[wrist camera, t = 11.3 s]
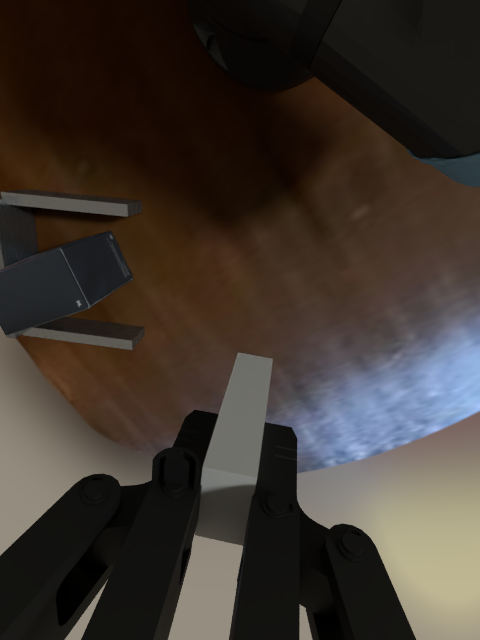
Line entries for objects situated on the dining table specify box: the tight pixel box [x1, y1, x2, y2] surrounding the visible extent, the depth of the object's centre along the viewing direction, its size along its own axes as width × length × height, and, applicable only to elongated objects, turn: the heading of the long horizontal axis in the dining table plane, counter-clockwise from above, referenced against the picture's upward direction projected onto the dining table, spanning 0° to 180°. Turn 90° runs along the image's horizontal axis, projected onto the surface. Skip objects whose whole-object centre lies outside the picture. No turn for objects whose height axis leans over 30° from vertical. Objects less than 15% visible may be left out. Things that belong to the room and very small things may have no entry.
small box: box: [0, 231, 133, 335], centre depth 41 cm, size 11×6×10 cm, turn 110°
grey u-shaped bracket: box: [0, 189, 145, 350], centre depth 43 cm, size 16×14×6 cm
